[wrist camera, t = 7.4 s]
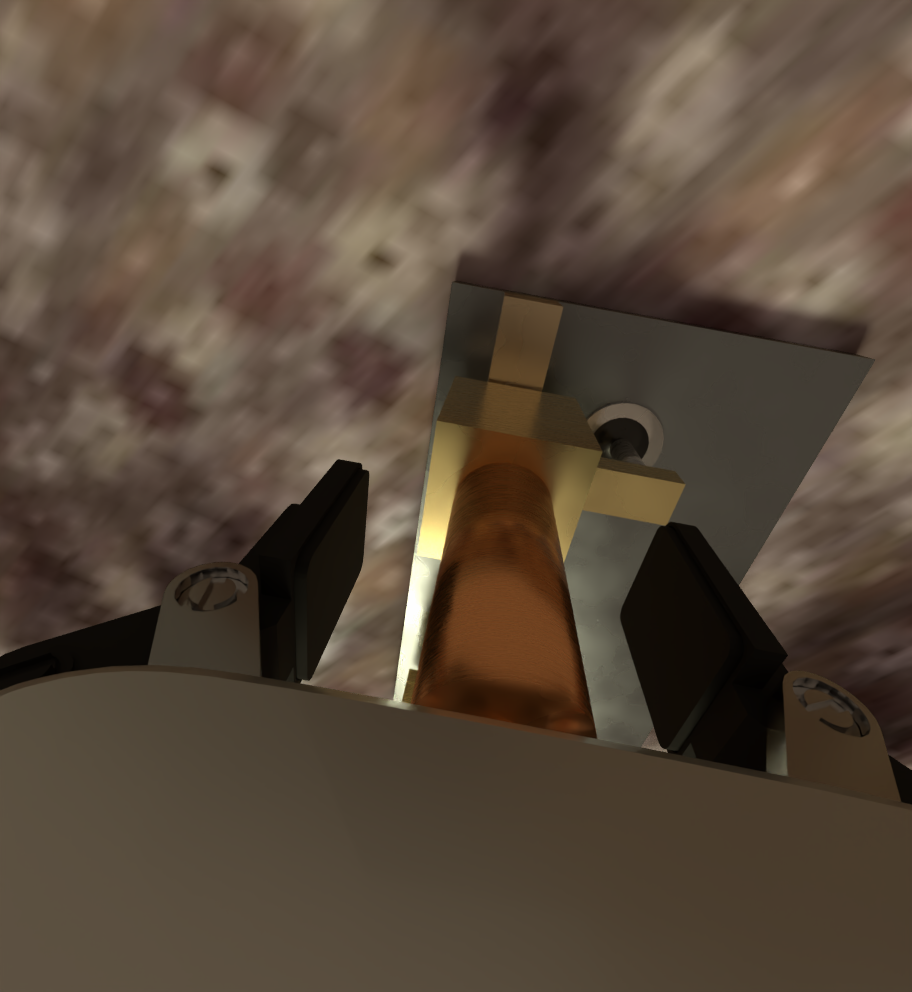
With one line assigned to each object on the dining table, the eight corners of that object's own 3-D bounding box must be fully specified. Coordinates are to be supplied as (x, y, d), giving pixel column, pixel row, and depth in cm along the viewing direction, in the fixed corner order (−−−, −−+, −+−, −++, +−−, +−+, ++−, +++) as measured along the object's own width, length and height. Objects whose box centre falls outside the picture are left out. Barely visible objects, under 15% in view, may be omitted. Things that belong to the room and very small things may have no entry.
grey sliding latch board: (628, 746, 30) (666, 897, 23) (394, 702, 30) (361, 837, 23) (856, 354, 17) (1094, 420, 10) (454, 280, 18) (421, 297, 11)
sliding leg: (621, 498, 20) (809, 885, 8) (443, 464, 20) (346, 795, 8) (659, 401, 18) (1005, 726, 5) (459, 365, 18) (360, 603, 5)
